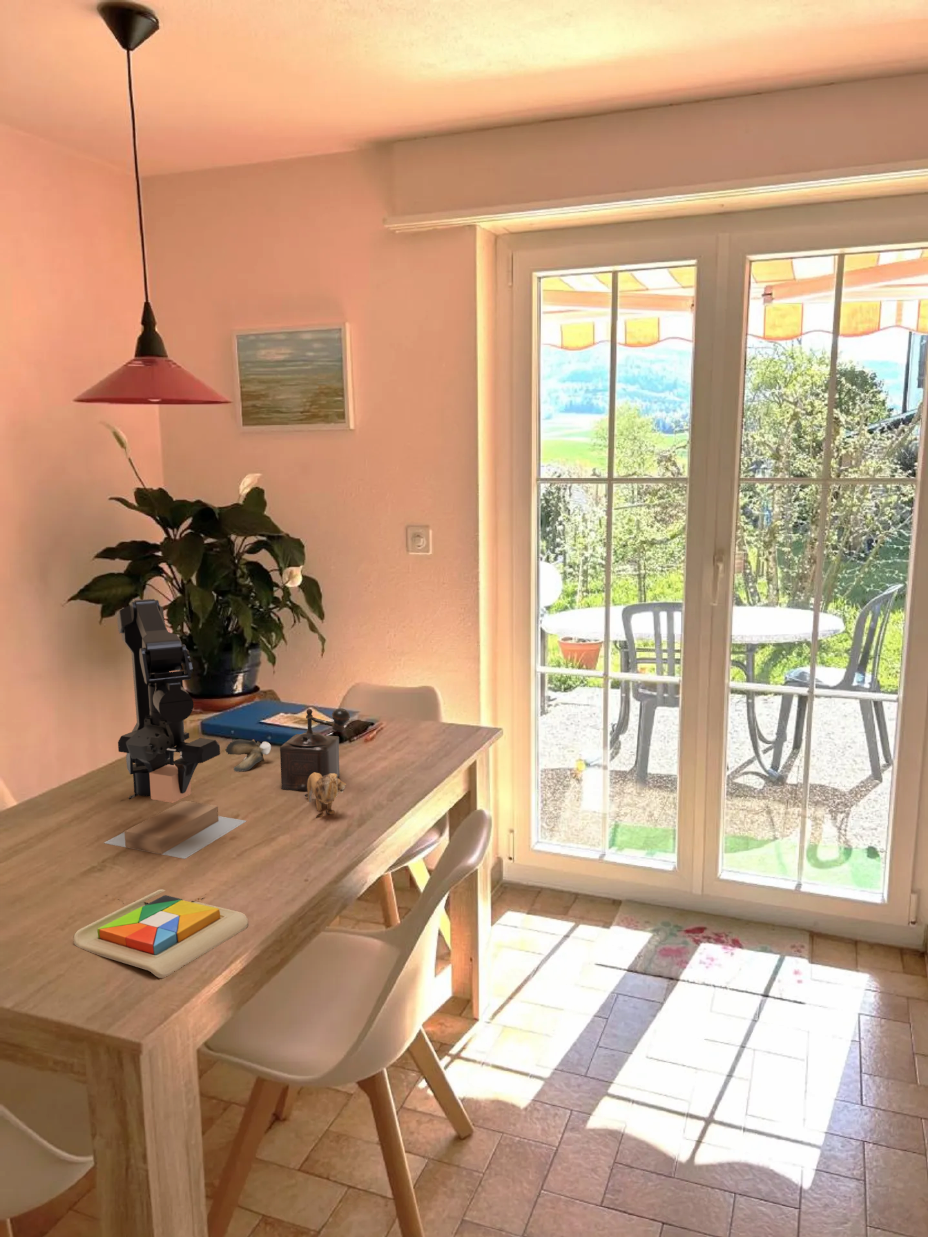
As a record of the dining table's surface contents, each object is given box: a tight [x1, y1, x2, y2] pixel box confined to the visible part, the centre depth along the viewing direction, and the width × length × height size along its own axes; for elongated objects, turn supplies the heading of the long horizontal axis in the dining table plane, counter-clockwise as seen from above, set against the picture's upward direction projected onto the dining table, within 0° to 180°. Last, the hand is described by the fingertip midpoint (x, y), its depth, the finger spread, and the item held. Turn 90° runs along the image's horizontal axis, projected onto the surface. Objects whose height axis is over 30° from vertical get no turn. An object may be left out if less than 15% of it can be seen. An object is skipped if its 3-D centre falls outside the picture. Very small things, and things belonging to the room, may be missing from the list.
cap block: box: [149, 764, 192, 804], centre depth 163 cm, size 5×5×5 cm
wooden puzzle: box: [73, 889, 249, 979], centre depth 132 cm, size 17×19×4 cm
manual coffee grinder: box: [279, 707, 351, 792], centre depth 193 cm, size 16×11×18 cm
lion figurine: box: [304, 772, 347, 818], centre depth 179 cm, size 15×5×9 cm, turn 36°
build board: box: [103, 815, 247, 860], centre depth 166 cm, size 18×18×1 cm
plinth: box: [123, 800, 219, 855], centre depth 165 cm, size 8×16×3 cm, turn 158°
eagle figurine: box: [224, 738, 272, 773], centre depth 206 cm, size 8×7×9 cm
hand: (171, 790), depth 164 cm, fingers closed on cap block, 5 cm apart
